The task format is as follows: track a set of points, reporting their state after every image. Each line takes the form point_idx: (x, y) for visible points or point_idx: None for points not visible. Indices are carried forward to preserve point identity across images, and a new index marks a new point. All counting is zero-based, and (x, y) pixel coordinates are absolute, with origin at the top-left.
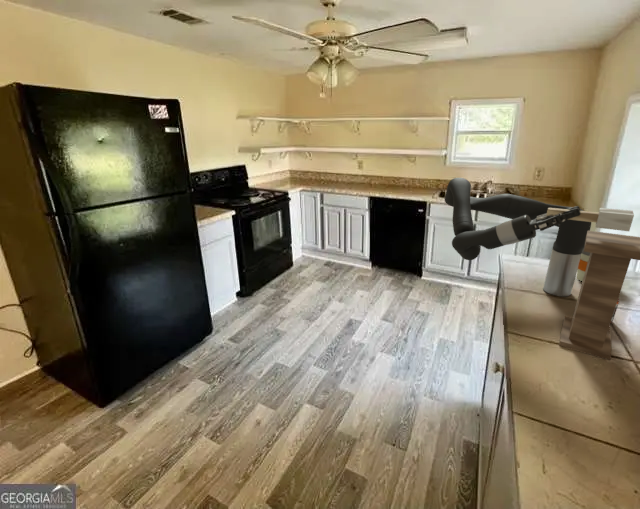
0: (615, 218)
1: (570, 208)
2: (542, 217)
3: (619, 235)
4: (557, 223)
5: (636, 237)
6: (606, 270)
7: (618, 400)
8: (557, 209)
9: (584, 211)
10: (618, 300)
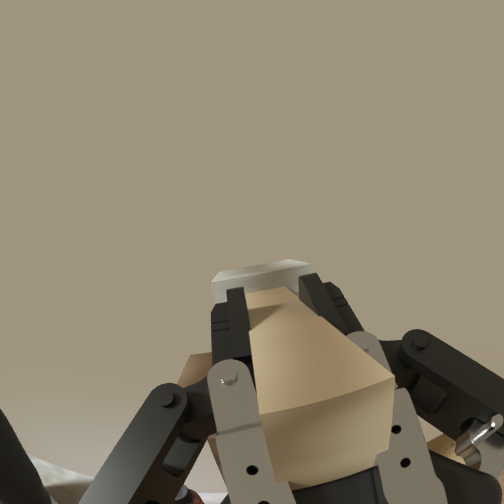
0: None
1: (244, 316)
2: (431, 467)
3: (194, 371)
4: (426, 379)
5: (197, 356)
6: None
7: (433, 449)
8: (309, 348)
9: (257, 303)
10: (189, 489)
